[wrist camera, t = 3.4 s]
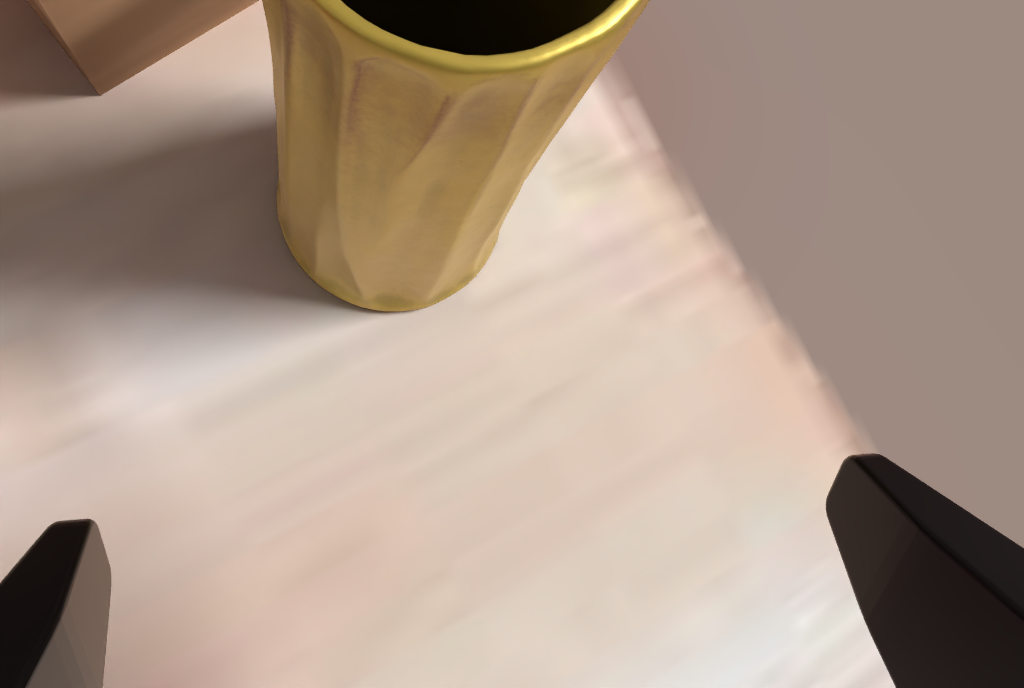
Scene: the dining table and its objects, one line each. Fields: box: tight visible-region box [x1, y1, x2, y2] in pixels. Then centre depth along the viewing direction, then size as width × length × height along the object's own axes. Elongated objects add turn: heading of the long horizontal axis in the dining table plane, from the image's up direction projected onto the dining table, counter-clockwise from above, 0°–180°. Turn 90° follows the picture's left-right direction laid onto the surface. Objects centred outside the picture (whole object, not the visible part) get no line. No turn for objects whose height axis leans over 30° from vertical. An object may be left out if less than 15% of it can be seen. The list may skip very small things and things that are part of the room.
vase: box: [262, 0, 650, 311], centre depth 17 cm, size 6×6×14 cm
